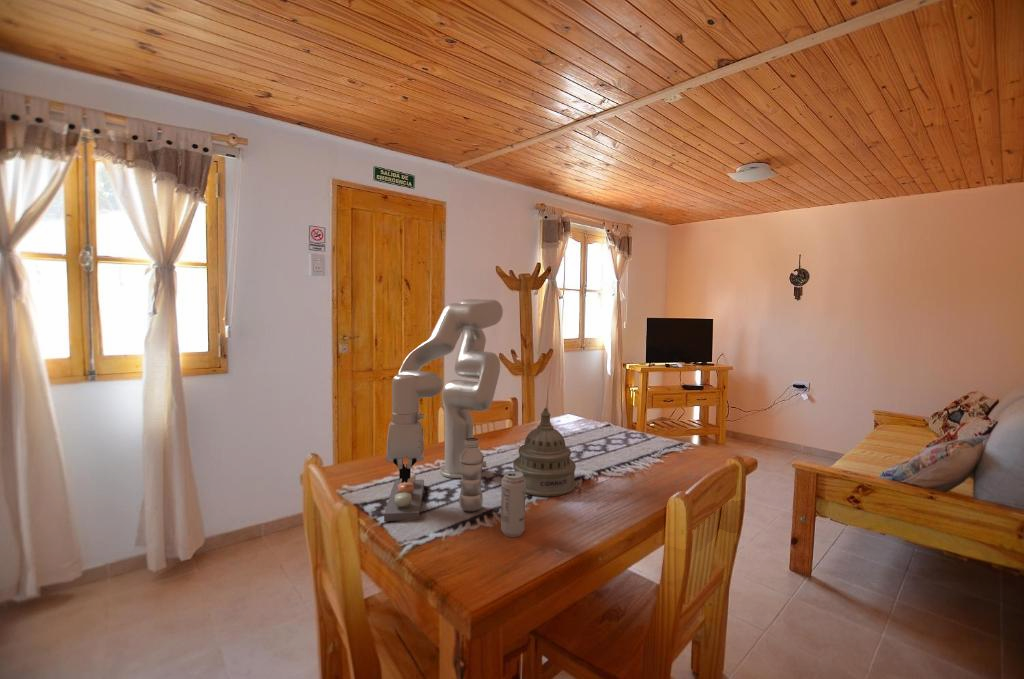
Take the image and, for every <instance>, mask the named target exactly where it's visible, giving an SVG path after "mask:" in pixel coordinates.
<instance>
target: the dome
mask: <svg viewBox="0 0 1024 679" xmlns="http://www.w3.org/2000/svg"><path fill="white" fill-rule="evenodd" d="M540 417H541V418H540V423H539V424H538V425H537V426H536V428H534V429H531V431H529V432H528V433H527V435H526V437H525V439H524V444H522V445H521V446H519V448H518V450H517V451H518V455H519V456H518V457H516V458H515V459H514V460H513V463H512V464H513V468H514V470H513V471H518V472H521V473H523V477H524V479H525V481H526V483H525V494H527V495H532V496H537V497H557V496H558V497H559V496H563V495H566V494H569V493H571V492H573V490H575V489H576V481H575V476H576V475H575V472H576V471H575V470H576V466H577V465H576V463H575V461H574V460H573V459H572V458H571V454H572V451H571V449H570V447H569V446H567V445H566V441H565V438H564V436H563V435H562V434H561V432H559V430H557V429H556V428H555V427H554V425H552V422H551V413H550V412H549V411H548V408H547V407H544V408H543V411H542V412H541V413H540Z"/></svg>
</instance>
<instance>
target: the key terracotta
mask: <svg viewBox="0 0 1024 679" xmlns="http://www.w3.org/2000/svg"><path fill="white" fill-rule="evenodd" d="M413 492H414V484H413V483H411V482H407V483H405V482H404V483H400V484H399V485H398V493H410V494H412V493H413Z"/></svg>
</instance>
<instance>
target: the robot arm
mask: <svg viewBox="0 0 1024 679" xmlns="http://www.w3.org/2000/svg"><path fill="white" fill-rule="evenodd" d="M503 312H504V309H503V306H502V304H501V303H500V302H499V301H498V300H496V299H479V298H477V299H476V298H474V299H473V298H470V299H468V298H467V299H463V300H460V301H459V302H454V303H448V304H447V305H446V306H445V307H444V308H443V310H442V311H441V314H440V315H439V317H438V319H437V322H436V324H435V326H434V328H433V329H432V331H431V333H430V336H429V338H428V339H427V340H426V341H424V342H422V343H420V345H418V346H417V347H416V348H415V349H413V350H412V351H411V352H410V353H409V354H408V355H407V356H406V357H405V359H404V360H403V362H402V364H401V366H400V368H399V370H398V373H397V374H395V375H394V376H393V378H392V380H391V381H392V382H391V421H390V422H389V424H388V429H387V438H386V457H385V461H386V462H387V463H388V462H389V463H393V464H394V465H395V466H396V467H397V468H398V469H399V471H398V472H399V473H398V474H399V480H401V479H402V483H404V481H405V483H407V482H408V479H410V476H411V473H412V472H411V469H412V467H413V466H414V465H415V464H416V463H419V462H423V461H424V460H425V455H424V448H425V447H424V446H425V445H424V443H425V441H424V428H423V423H422V421H421V420H422V419H425V414H424V413H421V412H420V399H424V398H425V399H426V398H428V399H429V398H434V397H437V396H438V395H439V394H440V393H441V400H442V403H443V411H444V465H442V466H441V467H440V468H439V473H440V474H441V475H442V476H443V477H446V478H448V479H449V478H451V479H462V476H461V465H460V456H461V454H462V452H463V451H464V449H465V448H466V447H465V439H466V438H474V419H473V415H472V413H471V412H472V411H473V412H486V411H487V410H489V409H490V408H491V406H492V403H493V400H494V398H495V393H496V389H497V386H498V382H499V376H500V372H501V361H500V358H499V356H498V354H496V353H494V352H491V351H485V347H486V344H487V339H486V338H487V337H486V335H485V332H484V331H483V329H486V328H490V327H493V326H495V325H497V324H499V323H500V321H501V319H502V318H503ZM460 337H461V341H460V344H459V348H458V351H457V356H456V359H455V363H454V372H455V374H456V375H457V376H459V377H461V378H466V379H475V380H478V381H472V380H466V379H465V380H464V379H452V380H449V381H447V382H446V383H445V384H444V382H443V378H442V377H441V376H440V375H439V374H438V373H436V372H431V371H424V370H421V369H423V367H424V366H425V365H427V364H428V363H430V362H432V361H434V360H437V359H440V358H442V357H445V356H447V355H449V354H451V353H452V352H454V350H455V348H456V345H457V344H458V341H459V339H460ZM404 459H407V462H406V465H405V464H404ZM482 468H487V461H485V460H483V466H482Z"/></svg>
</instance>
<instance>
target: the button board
mask: <svg viewBox="0 0 1024 679" xmlns="http://www.w3.org/2000/svg"><path fill="white" fill-rule="evenodd" d="M400 483H401V479H399V480H397V479H395V480H394V482H393V485H392V488H391V491H390V493H389V494H390V495H389V498H388V501H387V503H386V507H385V510H384V512H383V521H384V522H395V521H396V522H397V521H398V522H399V521H416V520H417V521H419V520H420V515H421V509H422V508H421V507H422V502H423V501H422V500H423V494H424V489H425V479H416V482H415V483H413V484H414V492H413V493H412V494H411V504H410V505H408V506H396V505H395V495H396V494H399V493H398V485H399V484H400Z"/></svg>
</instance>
